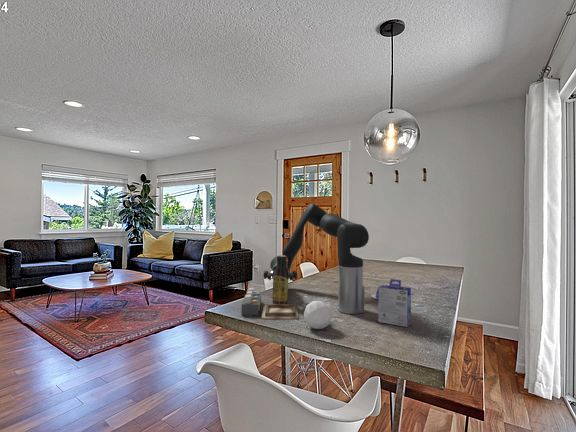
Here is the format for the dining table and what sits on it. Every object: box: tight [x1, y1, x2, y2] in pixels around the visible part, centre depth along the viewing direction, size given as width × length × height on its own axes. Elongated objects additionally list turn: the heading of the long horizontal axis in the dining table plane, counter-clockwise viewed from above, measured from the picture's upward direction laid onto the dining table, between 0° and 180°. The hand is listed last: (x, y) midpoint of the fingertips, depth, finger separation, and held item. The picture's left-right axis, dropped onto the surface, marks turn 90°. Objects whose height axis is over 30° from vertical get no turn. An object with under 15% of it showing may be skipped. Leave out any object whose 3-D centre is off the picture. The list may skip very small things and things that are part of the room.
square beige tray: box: [261, 303, 300, 320], centre depth 117 cm, size 13×14×2 cm
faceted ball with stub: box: [303, 300, 333, 330], centre depth 103 cm, size 9×9×12 cm
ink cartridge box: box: [377, 278, 412, 328], centre depth 107 cm, size 10×6×14 cm, turn 58°
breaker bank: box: [240, 287, 262, 316], centre depth 123 cm, size 6×18×6 cm, turn 1°
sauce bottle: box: [272, 254, 289, 304], centre depth 130 cm, size 6×6×20 cm
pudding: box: [370, 285, 381, 300], centre depth 141 cm, size 12×12×5 cm
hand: (280, 277), depth 129 cm, fingers open, 8 cm apart
